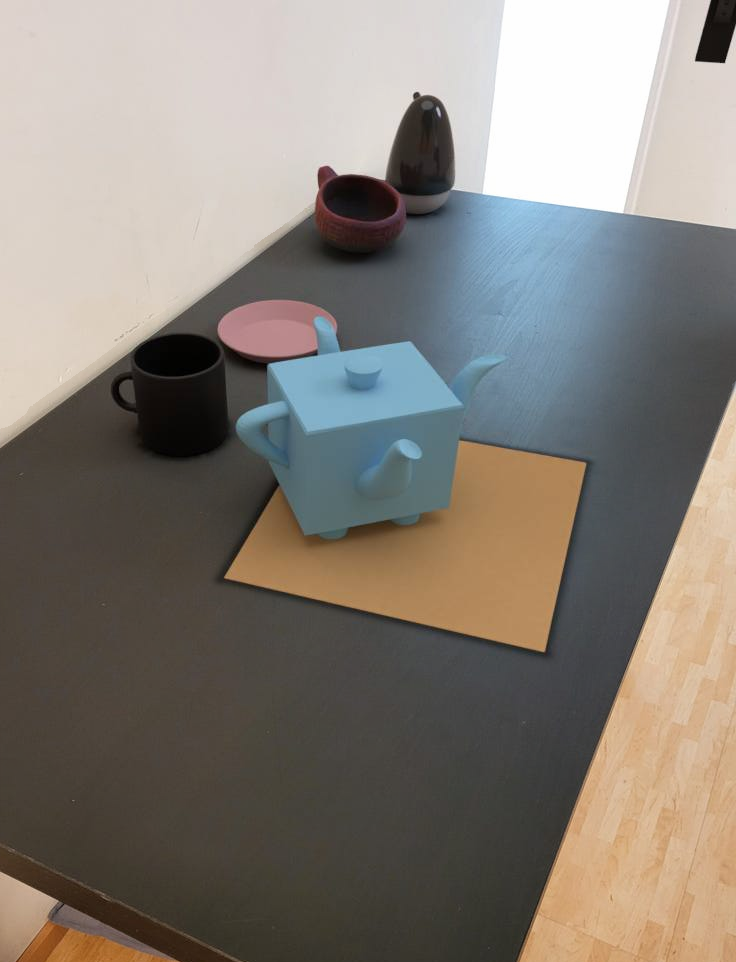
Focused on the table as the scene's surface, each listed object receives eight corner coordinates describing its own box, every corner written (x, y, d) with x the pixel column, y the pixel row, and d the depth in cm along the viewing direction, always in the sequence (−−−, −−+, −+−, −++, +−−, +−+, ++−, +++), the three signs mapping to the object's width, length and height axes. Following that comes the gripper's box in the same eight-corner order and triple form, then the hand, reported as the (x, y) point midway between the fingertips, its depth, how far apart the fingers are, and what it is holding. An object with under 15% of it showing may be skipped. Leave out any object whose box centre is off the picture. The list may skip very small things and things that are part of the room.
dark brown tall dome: (439, 192, 146) (450, 82, 135) (460, 217, 138) (474, 103, 128) (375, 198, 145) (382, 87, 134) (393, 223, 137) (402, 109, 127)
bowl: (420, 240, 133) (426, 181, 127) (375, 273, 126) (379, 212, 120) (324, 218, 140) (325, 160, 134) (276, 248, 132) (275, 189, 127)
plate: (360, 347, 112) (361, 331, 110) (262, 385, 106) (262, 369, 105) (290, 304, 120) (290, 289, 119) (195, 337, 114) (194, 321, 113)
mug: (125, 407, 104) (114, 330, 97) (233, 409, 103) (229, 332, 96) (108, 455, 97) (95, 376, 90) (223, 458, 96) (218, 379, 89)
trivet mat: (586, 464, 94) (586, 462, 94) (544, 653, 76) (544, 652, 76) (320, 417, 101) (320, 415, 101) (223, 579, 83) (223, 577, 83)
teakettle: (226, 525, 88) (217, 386, 78) (315, 427, 100) (318, 294, 89) (413, 588, 81) (431, 444, 71) (486, 475, 93) (510, 336, 82)
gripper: (754, -288, 78) (672, 40, 95) (754, -284, 69) (664, 76, 86) (854, -291, 76) (752, 45, 93) (866, -287, 67) (751, 82, 84)
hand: (710, 60), depth 89 cm, fingers closed
